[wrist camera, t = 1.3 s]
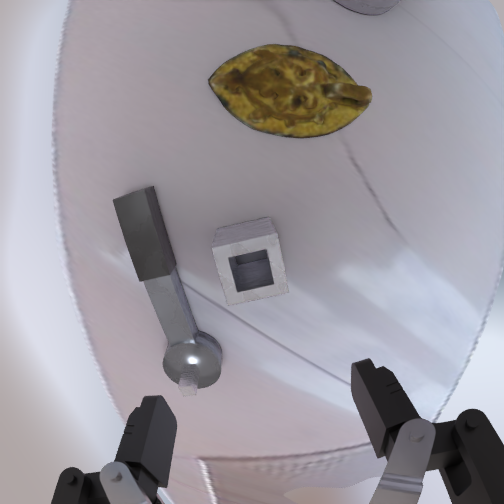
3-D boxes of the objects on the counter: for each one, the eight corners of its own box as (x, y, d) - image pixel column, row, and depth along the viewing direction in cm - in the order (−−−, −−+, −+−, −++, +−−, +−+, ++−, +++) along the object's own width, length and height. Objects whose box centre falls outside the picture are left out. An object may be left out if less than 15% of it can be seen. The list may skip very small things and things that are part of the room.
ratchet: (228, 367, 32) (226, 407, 26) (179, 374, 33) (170, 412, 26) (168, 181, 25) (147, 189, 19) (110, 199, 25) (78, 213, 19)
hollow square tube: (217, 228, 27) (211, 248, 21) (269, 216, 27) (277, 233, 21) (229, 276, 28) (228, 305, 23) (279, 265, 28) (288, 292, 23)
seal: (208, 134, 25) (359, 144, 26) (201, 135, 21) (379, 149, 22) (212, 44, 21) (363, 60, 22) (206, 29, 17) (384, 50, 18)
